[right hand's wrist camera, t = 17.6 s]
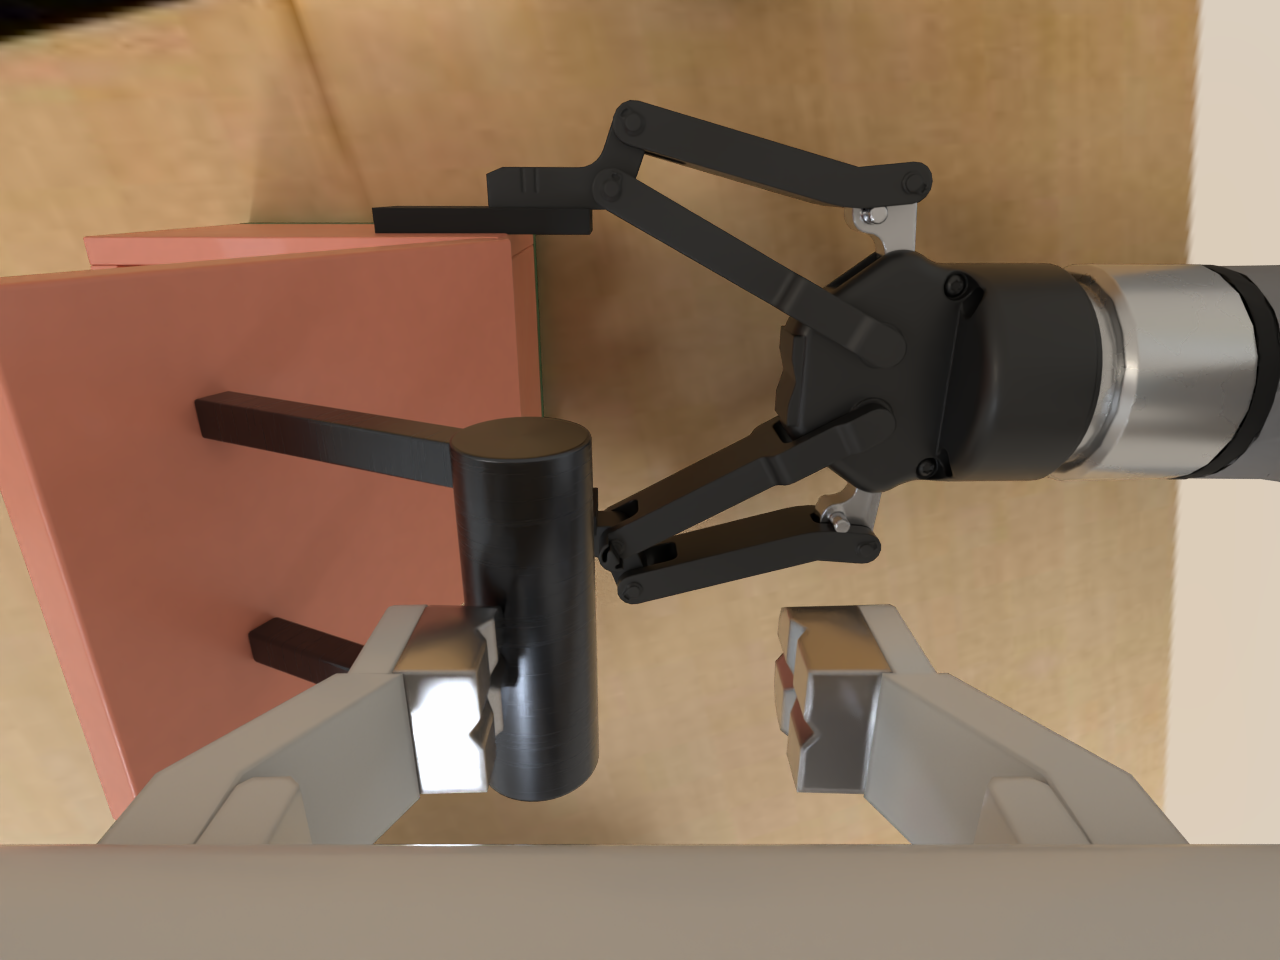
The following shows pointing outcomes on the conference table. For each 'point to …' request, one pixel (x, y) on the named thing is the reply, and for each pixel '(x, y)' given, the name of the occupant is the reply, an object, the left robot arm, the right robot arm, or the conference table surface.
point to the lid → (291, 492)
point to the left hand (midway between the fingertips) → (405, 377)
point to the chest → (322, 238)
